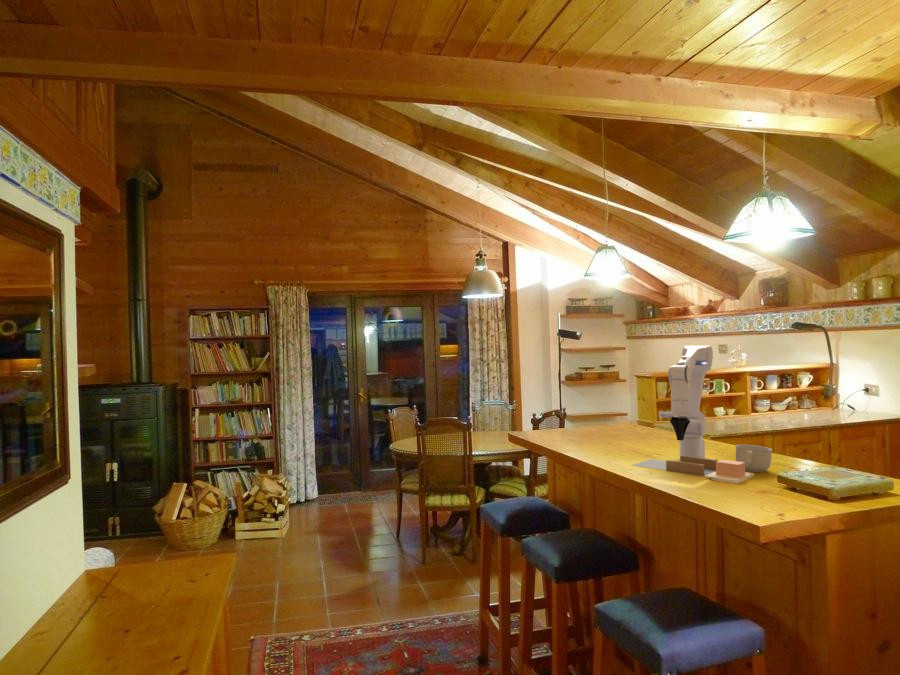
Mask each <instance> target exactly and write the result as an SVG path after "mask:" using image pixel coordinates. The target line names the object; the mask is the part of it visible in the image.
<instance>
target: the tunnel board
mask: <svg viewBox="0 0 900 675" xmlns="http://www.w3.org/2000/svg"><path fill="white" fill-rule="evenodd" d="M717 461H719V459H716V458H715V459H714V458H707V457H705V458H700V457H692V456H684V455H682V456H680V455H679V461H678V460H672V459H666V460H658V459H647V460H644V461H640V462H637V463H634V464H632V465H631V466H633V467H640V468H647V469H653V470H661V471H667V472H676V473H679V474H680V473H681V474H689V475H696V476H704V477H708V478H706V480H707V479H711V480H710V481H714V480H715V481H716V482H723V483H727V484H734V483H735V484H736V485H739V484H740V483H742V482H745V481H748V480H749V479H751V477H752V478H754V477H755V472H749V471H745V475H744V476H742V477H740V478H737V477H730V476H723V475H716V462H717ZM753 476H754V477H753Z"/></svg>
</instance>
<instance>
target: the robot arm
mask: <svg viewBox="0 0 900 675" xmlns="http://www.w3.org/2000/svg"><path fill="white" fill-rule="evenodd" d="M681 354H682V355H681V357H680V358H679V359H678V360H677V361H676V363H675V364H673V365H671V366H669V367H668V373H667V374H668V380H669V387H670V410H671V411H663V410H662V411H658V418H668V419H670V420H669V422H670V424H671V426H672V427H673V430H674V434H675V436H676V437H675V438H676V440H677V441H679V443H678V444H679V457H680V456H682V455H684V456H692V457H700V458H706V445H705V440H704V438H703V437H704V436H705V435H706V432H707V431H706V430H707V418H706V415H705V414H704V413H703V412H702V411H700V406H701V401H702V394H703V388H704V382H705V376H706V374H707V372H709V371H711V369H712V365H713V358H714V357H713V356H714V351H713V347H712V346H711V345H709V344H708V345H687V344H686V345H684V346H683V347H682V352H681Z"/></svg>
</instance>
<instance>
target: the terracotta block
mask: <svg viewBox="0 0 900 675" xmlns="http://www.w3.org/2000/svg"><path fill="white" fill-rule="evenodd" d="M745 472H746V471H745V462H738V461H736V460H728V459H720V460H718V461H717V462H716V475H723V476H730V477H737V478H740V477H742V476H744V475H745Z"/></svg>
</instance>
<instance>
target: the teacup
mask: <svg viewBox="0 0 900 675" xmlns="http://www.w3.org/2000/svg"><path fill="white" fill-rule="evenodd" d="M772 452H773V449H772V448H770V447H766V446H762V445H755V444H736V445H735V461H738V462H745V472H749V473H759V472H760V473H764V472H766V471H767V470H768V469H770V467H771V463H772Z"/></svg>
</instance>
